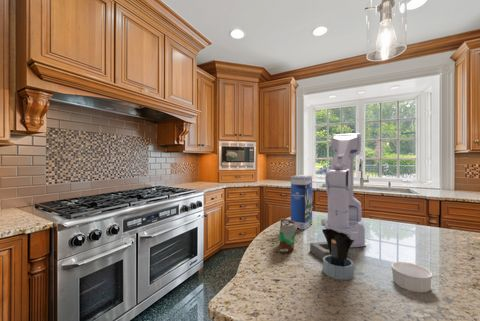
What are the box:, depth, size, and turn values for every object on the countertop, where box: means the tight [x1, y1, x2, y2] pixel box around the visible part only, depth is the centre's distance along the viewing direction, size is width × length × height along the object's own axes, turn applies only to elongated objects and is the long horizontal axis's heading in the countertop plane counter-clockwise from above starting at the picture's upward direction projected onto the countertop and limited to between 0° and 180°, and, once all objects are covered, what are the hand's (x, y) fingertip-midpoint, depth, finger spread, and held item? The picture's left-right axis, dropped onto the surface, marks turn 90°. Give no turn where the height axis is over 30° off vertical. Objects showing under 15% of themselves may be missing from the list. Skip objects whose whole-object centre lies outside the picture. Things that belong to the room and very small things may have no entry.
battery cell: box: [331, 238, 344, 266], centre depth 68 cm, size 4×4×8 cm
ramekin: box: [390, 261, 433, 294], centre depth 61 cm, size 9×9×4 cm
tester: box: [309, 241, 349, 261], centre depth 80 cm, size 9×9×3 cm
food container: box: [279, 218, 298, 255], centre depth 86 cm, size 12×6×10 cm, turn 168°
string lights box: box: [290, 174, 313, 230], centre depth 117 cm, size 13×8×26 cm, turn 147°
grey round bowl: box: [322, 255, 355, 281], centre depth 68 cm, size 8×8×4 cm
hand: (337, 256), depth 68 cm, fingers closed on battery cell, 3 cm apart
